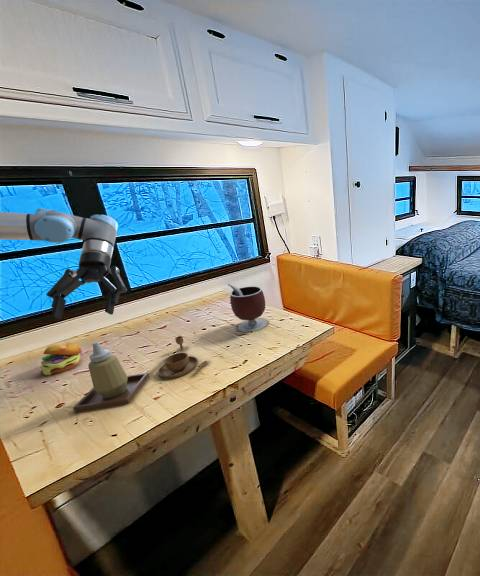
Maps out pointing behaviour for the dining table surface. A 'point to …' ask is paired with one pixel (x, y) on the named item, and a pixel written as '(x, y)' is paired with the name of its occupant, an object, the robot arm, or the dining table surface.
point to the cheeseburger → (60, 358)
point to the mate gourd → (248, 307)
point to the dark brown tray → (97, 401)
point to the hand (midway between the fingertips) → (82, 315)
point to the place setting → (179, 363)
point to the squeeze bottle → (106, 373)
